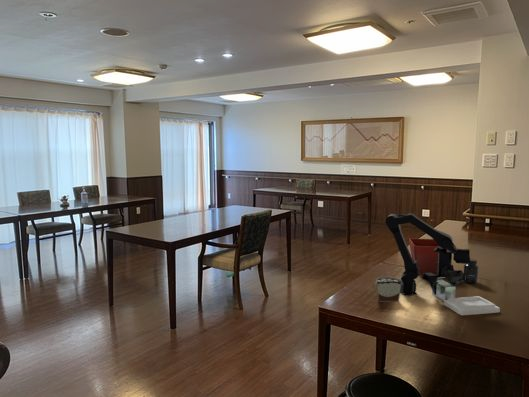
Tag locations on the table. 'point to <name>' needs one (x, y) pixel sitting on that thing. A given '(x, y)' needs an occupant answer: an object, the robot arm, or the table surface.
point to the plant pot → (424, 254)
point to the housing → (444, 290)
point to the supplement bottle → (471, 272)
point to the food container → (388, 289)
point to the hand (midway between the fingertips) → (443, 294)
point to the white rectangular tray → (471, 305)
